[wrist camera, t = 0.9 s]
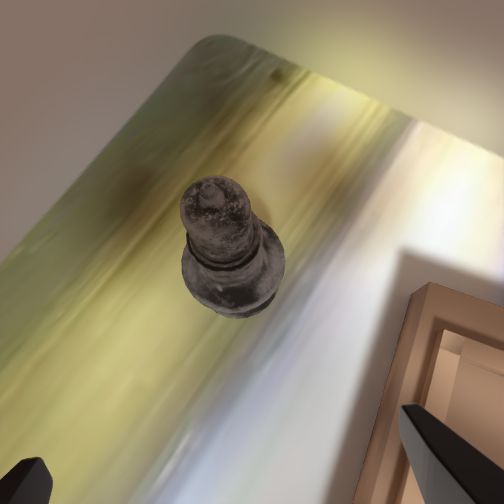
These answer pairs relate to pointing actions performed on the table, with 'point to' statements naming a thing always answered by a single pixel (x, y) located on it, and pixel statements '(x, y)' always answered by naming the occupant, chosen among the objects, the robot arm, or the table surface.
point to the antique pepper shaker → (228, 249)
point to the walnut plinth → (438, 387)
